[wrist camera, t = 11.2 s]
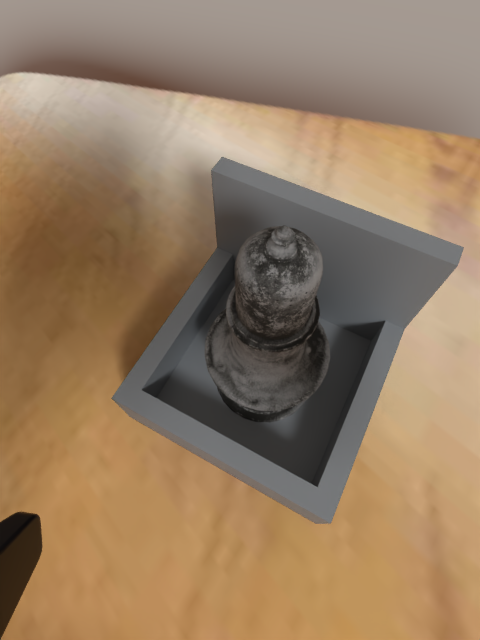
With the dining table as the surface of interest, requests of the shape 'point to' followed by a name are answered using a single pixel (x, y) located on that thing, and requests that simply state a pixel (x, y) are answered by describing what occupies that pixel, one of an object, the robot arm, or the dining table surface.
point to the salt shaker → (270, 328)
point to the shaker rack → (335, 317)
